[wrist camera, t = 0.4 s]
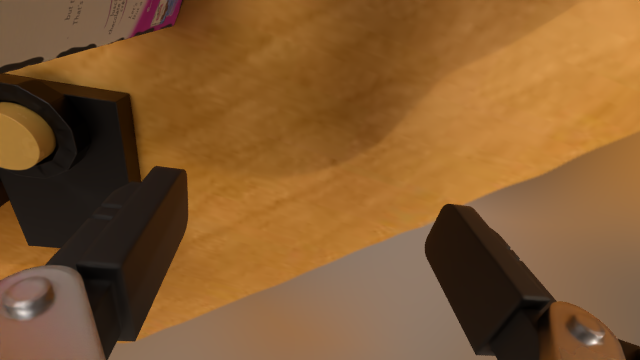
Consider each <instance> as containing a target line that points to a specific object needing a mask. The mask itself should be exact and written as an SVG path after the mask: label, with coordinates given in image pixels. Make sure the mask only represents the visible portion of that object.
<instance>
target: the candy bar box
mask: <svg viewBox="0 0 640 360" xmlns="http://www.w3.org/2000/svg"><path fill="white" fill-rule="evenodd" d="M182 2H183V0H0V74H1V73H5V72H8V71H13V70H17V69H20V68H23V67H26V66H28V65H34V64H38V63H41V62H45V61H49V60H52V59H54V58H59V57H62V56H66V55H69V54H73V53H77V52H80V51H84V50H87V49H91V48H96V47H99V46H103V45H106V44H110V43H113V42H116V41H120V40H124V39H128V38H131V37H134V36H138V35H142V34H145V33H149V32H153V31H157V30H160V29H164V28H167V27H171V26H173V25H174V24H175V21H176V18H177V16H178V13H179V10H180V7H181V5H182Z"/></svg>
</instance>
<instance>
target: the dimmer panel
mask: <svg viewBox="0 0 640 360" xmlns="http://www.w3.org/2000/svg"><path fill="white" fill-rule="evenodd" d="M8 201H9V198H8V195H7V193H6V190H5V188H4V186H3V183H2V181H1V178H0V207H1V206H2V205H4V204H5V203H6V202H8Z"/></svg>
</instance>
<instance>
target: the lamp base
mask: <svg viewBox="0 0 640 360" xmlns="http://www.w3.org/2000/svg"><path fill="white" fill-rule="evenodd" d="M0 102H11V103H16V104H19V105H22V106H25V107H27V108H29V109H31V110H32V111H34V112H36V113H37V114H38V115H40V116H41V117H42V118H43V119H44V120H45V121H46V122H47V123H48V125H49V126H50V127H51V128H52V130H53V132H54V135H55V138H56V147H55V149H54V151H53V152H52V154H50V155H49V156H48V157H46V158H45V159H43V160H42V161H40V162H39V163H37V164H36V165H34V166H33V167H31V168H28V169H24V170H10V169H5V168H1V167H0V178H1V181H2V183H3V186H4V188H5V190H6V193H7V195H8V198H9V200H10V202H11V205H12V207H13V209H14V212H15V214H16V217H17V219H18V221H19V224H20V226H21V229H22V231H23V233H24V236H25V238H26V241H27V243H28V245H29V246H41V247H53V248H61V247H62V246H63V245H64V244H65V243H66V242H67V241H68V240H69V239H70V237H71V236H72V235H73V234H74V233H75V232H76V231H77V230H78V229H79V228H80V227H81V226H82V224H83V223H84V222H85V221H86V220H87V219H88V218H91V215H92V214H93V213H94V211H95V210H96V209H97V208H98V207H101V204H102V203H103V202H104V201H105V199H106V198H107V197H108V196H109V195H110V194H111V193H112V192H113V191H114V190H116V189H118V188H120V187H122V186H124V185H126V184H127V183H129V182H131V181H134V182H141V178H140V170H139V163H138V155H137V148H136V140H135V133H134V125H133V118H132V110H131V103H130V95H129V94H127V93H121V92H115V91H109V90H102V89H96V88H90V87H84V86H77V85H71V84H65V83H59V82H53V81H46V80H40V79H35V78H29V77H23V76H16V75H10V74H3V73H1V74H0Z"/></svg>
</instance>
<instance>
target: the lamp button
mask: <svg viewBox="0 0 640 360" xmlns="http://www.w3.org/2000/svg"><path fill="white" fill-rule="evenodd" d="M55 147H56V138H55V135H54V132H53V130H52V128H51V127H50V126H49V125H48V123H47V122H46V121H45V120H44V119H43V118H42V117H41V116H40V115H38V114H37V113H36V112H34V111H32V110H31V109H29V108H27V107H25V106H22V105H19V104H16V103H11V102H0V167H1V168H5V169H10V170H24V169H28V168H31V167H33V166H34V165H36V164H37V163H39V162H40V161H42V160H43V159H45V158H46V157H48V156H49V155H50V154H52V152H53V151H54V149H55Z"/></svg>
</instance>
